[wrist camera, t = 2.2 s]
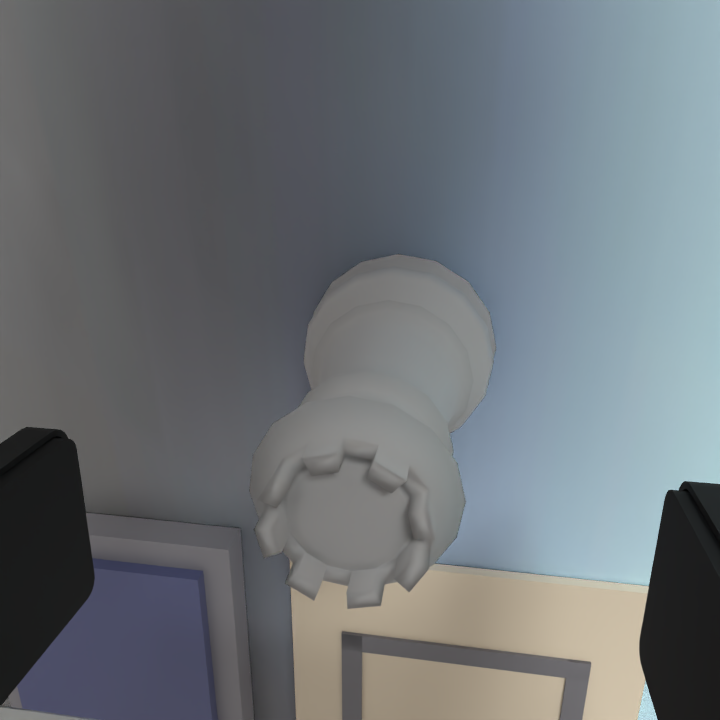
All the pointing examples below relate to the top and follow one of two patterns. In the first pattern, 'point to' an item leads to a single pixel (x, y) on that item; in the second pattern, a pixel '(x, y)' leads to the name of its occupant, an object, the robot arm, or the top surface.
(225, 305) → the top surface
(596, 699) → the print card
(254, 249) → the top surface
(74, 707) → the ink pad
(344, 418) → the rook chess piece
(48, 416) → the top surface
